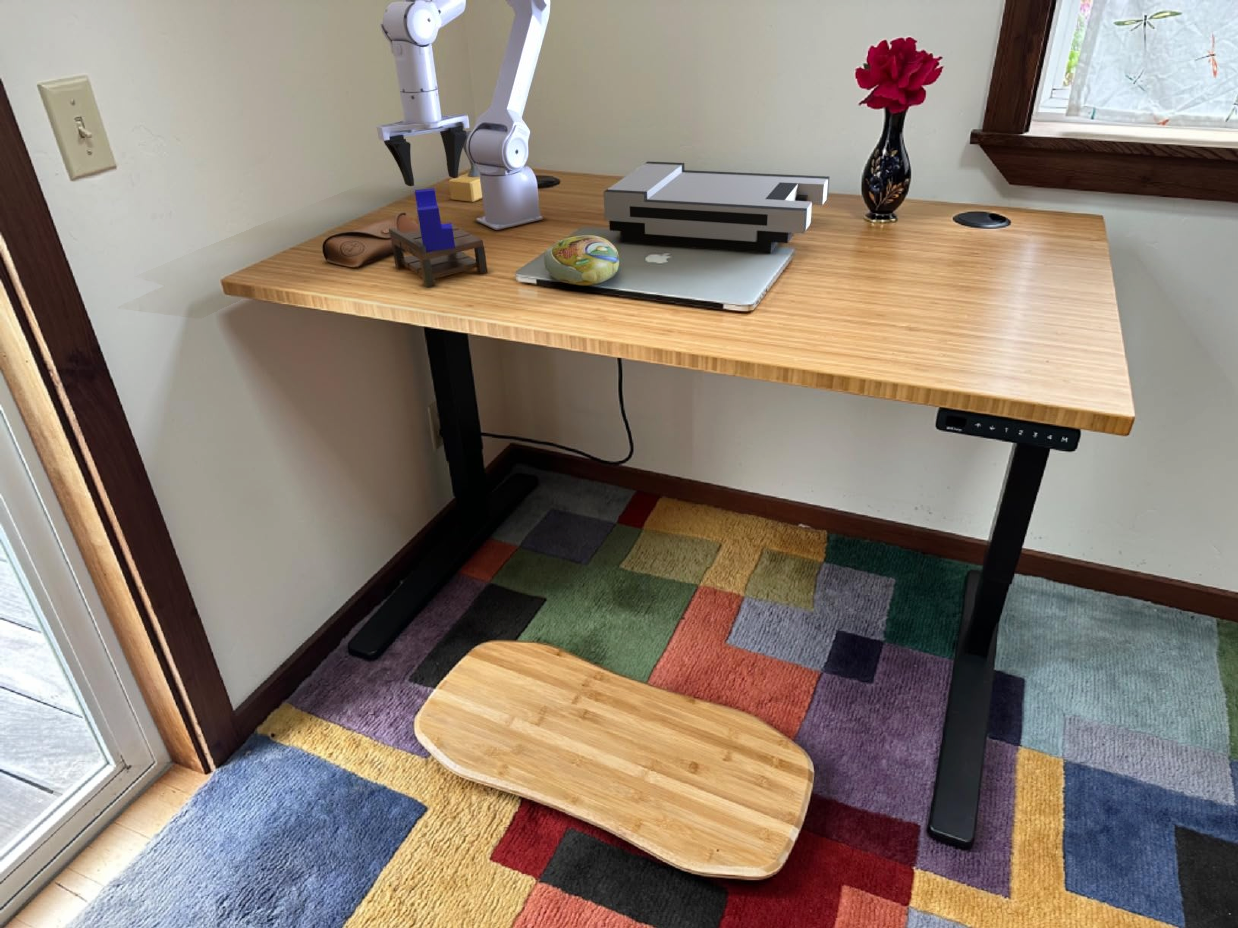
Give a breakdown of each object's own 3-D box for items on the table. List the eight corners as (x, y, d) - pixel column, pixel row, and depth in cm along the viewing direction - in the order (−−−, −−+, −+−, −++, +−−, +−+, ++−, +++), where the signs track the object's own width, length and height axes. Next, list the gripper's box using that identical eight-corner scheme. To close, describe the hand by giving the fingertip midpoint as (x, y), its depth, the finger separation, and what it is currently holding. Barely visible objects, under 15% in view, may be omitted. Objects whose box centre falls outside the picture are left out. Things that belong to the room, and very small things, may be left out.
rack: (453, 253, 140) (447, 215, 137) (487, 272, 132) (482, 232, 128) (395, 267, 136) (388, 228, 132) (427, 288, 127) (420, 246, 124)
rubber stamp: (473, 202, 167) (464, 137, 160) (450, 199, 169) (440, 135, 163) (504, 189, 174) (497, 126, 168) (481, 187, 177) (473, 125, 170)
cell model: (620, 242, 133) (625, 233, 118) (612, 292, 135) (615, 290, 120) (551, 229, 133) (546, 220, 118) (543, 281, 134) (538, 277, 119)
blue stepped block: (455, 248, 126) (449, 207, 123) (424, 252, 125) (417, 210, 122) (449, 226, 136) (444, 187, 133) (421, 229, 135) (414, 190, 132)
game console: (802, 257, 131) (805, 202, 126) (606, 242, 141) (603, 191, 137) (826, 218, 147) (830, 169, 143) (648, 208, 158) (647, 161, 153)
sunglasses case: (357, 266, 135) (335, 227, 134) (337, 282, 140) (316, 245, 139) (440, 235, 147) (421, 199, 146) (419, 251, 152) (400, 216, 151)
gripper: (383, 98, 126) (399, 193, 133) (473, 87, 133) (483, 178, 140) (366, 93, 131) (382, 185, 138) (453, 83, 138) (464, 170, 145)
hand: (431, 181), depth 139 cm, fingers open, 7 cm apart
